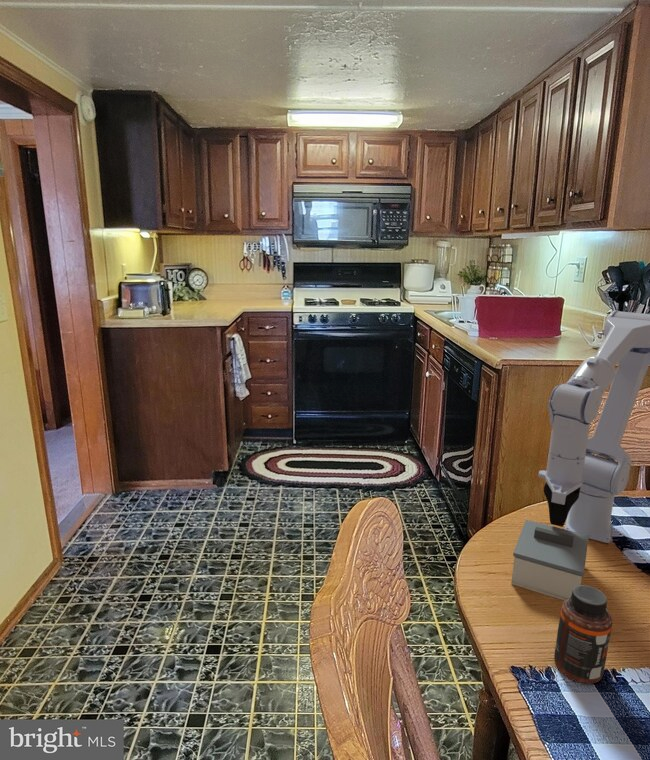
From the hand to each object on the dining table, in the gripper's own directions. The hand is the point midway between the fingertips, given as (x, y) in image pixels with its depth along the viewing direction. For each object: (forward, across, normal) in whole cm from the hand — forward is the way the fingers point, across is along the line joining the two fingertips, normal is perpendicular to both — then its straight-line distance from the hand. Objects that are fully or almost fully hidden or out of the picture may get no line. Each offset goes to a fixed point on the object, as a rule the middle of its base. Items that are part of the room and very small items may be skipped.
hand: (557, 523), depth 91 cm
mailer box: (+6, +6, 0) cm, 9 cm away
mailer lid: (+1, +7, 0) cm, 7 cm away
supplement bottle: (+7, +26, +6) cm, 28 cm away
